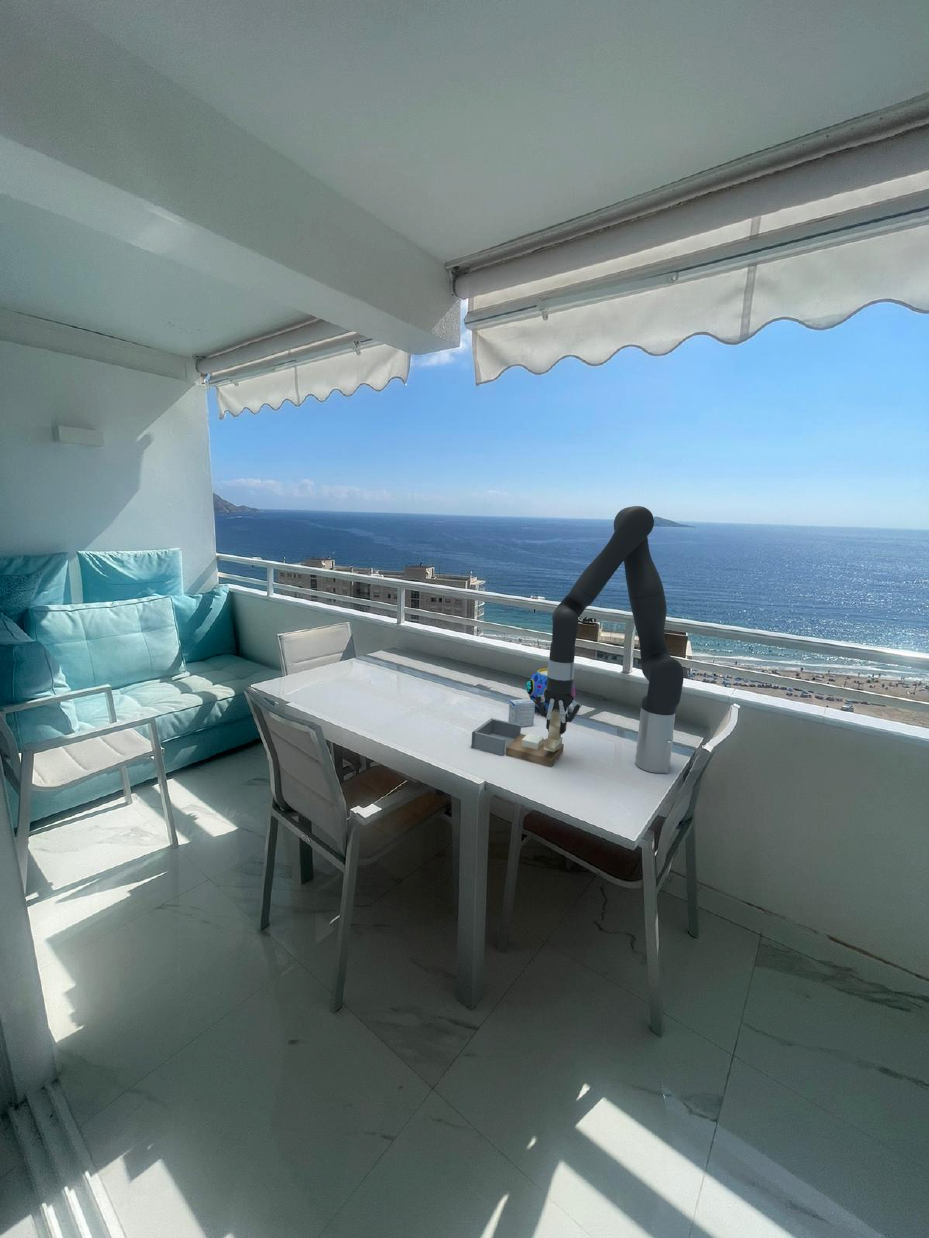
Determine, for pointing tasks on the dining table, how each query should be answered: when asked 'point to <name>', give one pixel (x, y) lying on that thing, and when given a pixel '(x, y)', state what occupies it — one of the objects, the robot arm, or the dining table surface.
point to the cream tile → (532, 741)
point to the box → (495, 736)
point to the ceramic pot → (540, 686)
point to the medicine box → (521, 712)
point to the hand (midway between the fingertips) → (555, 731)
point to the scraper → (554, 733)
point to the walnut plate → (532, 752)
